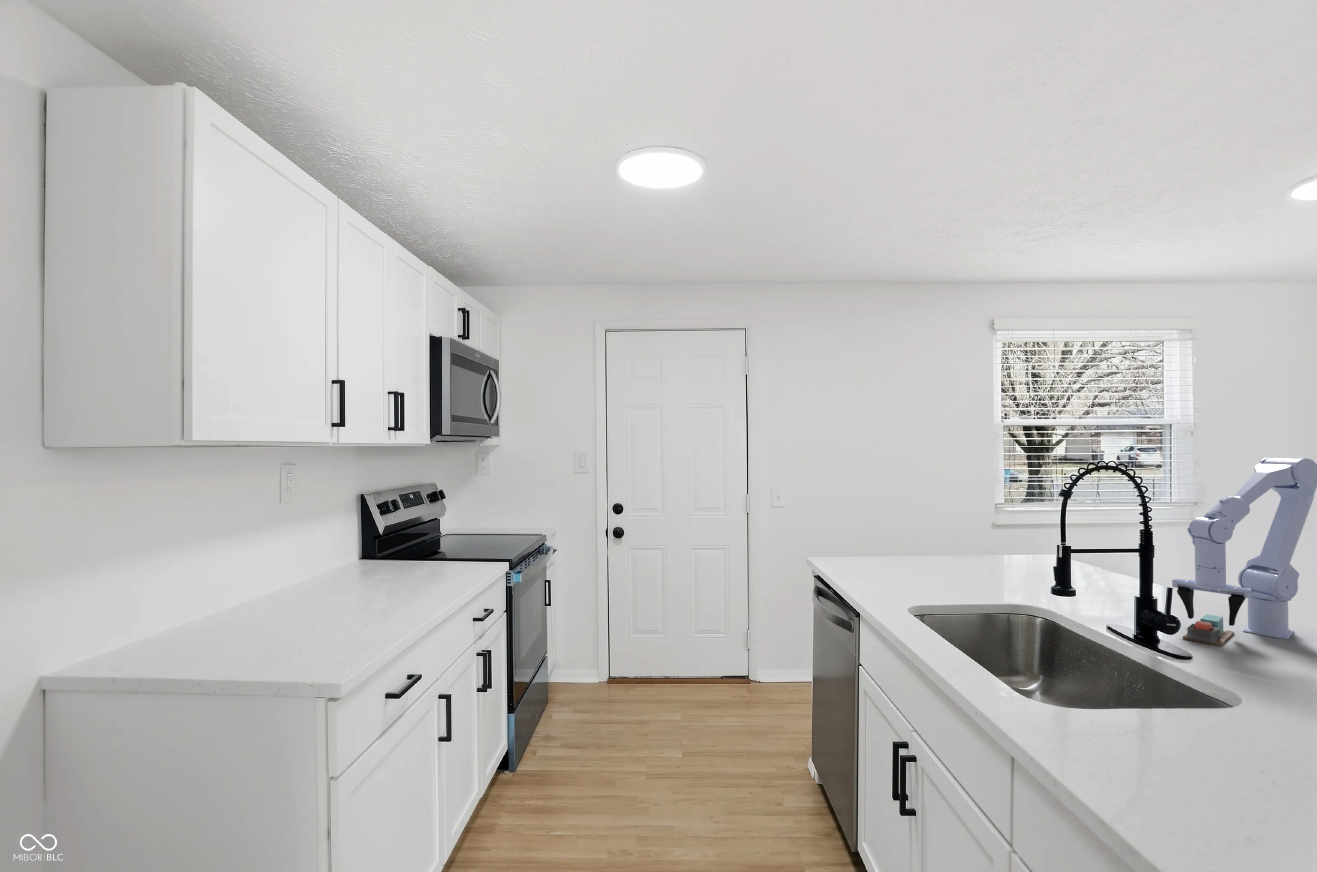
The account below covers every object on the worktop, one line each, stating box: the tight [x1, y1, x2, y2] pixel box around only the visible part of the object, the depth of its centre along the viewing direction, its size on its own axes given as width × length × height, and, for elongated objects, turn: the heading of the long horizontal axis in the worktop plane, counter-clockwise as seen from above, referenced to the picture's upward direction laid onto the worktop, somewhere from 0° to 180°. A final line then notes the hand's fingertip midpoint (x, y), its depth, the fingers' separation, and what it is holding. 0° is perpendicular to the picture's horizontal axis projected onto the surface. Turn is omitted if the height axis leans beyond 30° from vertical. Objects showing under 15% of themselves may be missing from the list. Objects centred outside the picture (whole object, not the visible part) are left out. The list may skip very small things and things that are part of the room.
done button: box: [1194, 620, 1212, 631], centre depth 148 cm, size 3×3×2 cm
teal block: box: [1199, 613, 1224, 632], centre depth 153 cm, size 8×3×3 cm, turn 128°
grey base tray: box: [1182, 623, 1235, 647], centre depth 151 cm, size 14×7×3 cm, turn 128°
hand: (1211, 621), depth 153 cm, fingers open, 7 cm apart
